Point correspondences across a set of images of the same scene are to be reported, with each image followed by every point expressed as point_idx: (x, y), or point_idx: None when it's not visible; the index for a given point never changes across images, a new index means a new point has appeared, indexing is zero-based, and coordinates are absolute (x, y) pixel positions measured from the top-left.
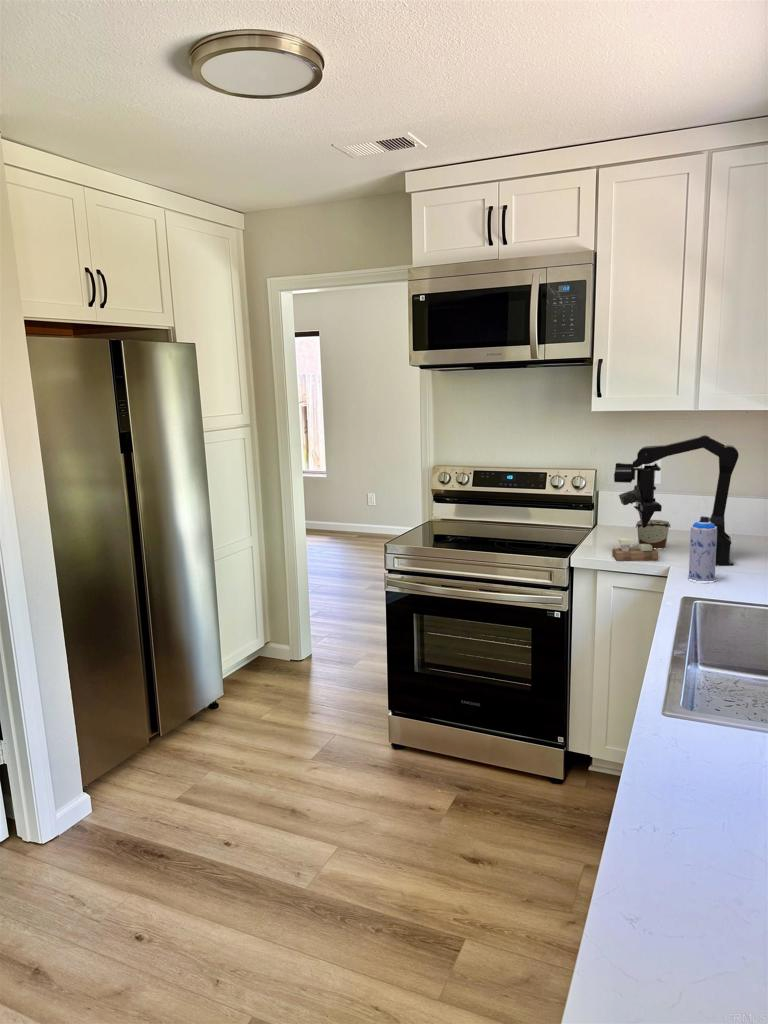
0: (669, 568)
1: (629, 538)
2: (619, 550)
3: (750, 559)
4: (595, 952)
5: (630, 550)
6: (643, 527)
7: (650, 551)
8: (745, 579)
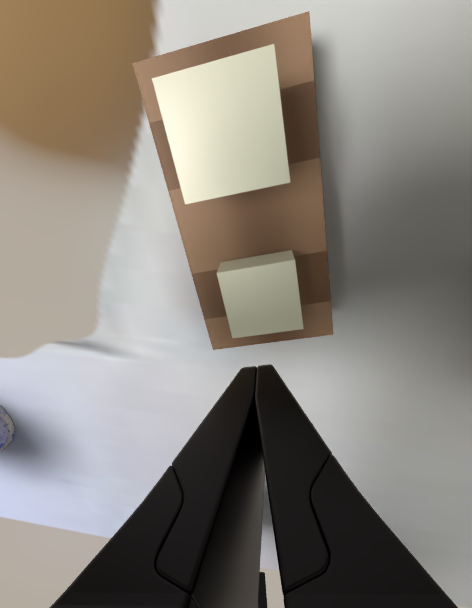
0: (89, 350)
1: (254, 184)
2: None
3: None
4: None
5: None
6: (244, 374)
7: (225, 312)
8: (42, 506)
